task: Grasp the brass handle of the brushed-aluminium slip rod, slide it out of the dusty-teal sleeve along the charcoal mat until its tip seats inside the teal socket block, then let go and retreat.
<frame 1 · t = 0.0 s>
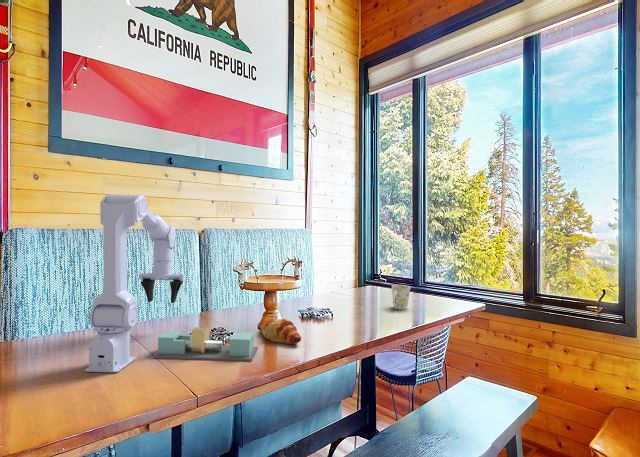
hand: (161, 301, 123), 10 cm above the table, fingers open, 7 cm apart
guide: (175, 352, 105), on the table
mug: (398, 309, 168), on the table
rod: (193, 339, 105), point 4 cm above the table, slide at 0.0 cm
croissant: (280, 339, 121), on the table
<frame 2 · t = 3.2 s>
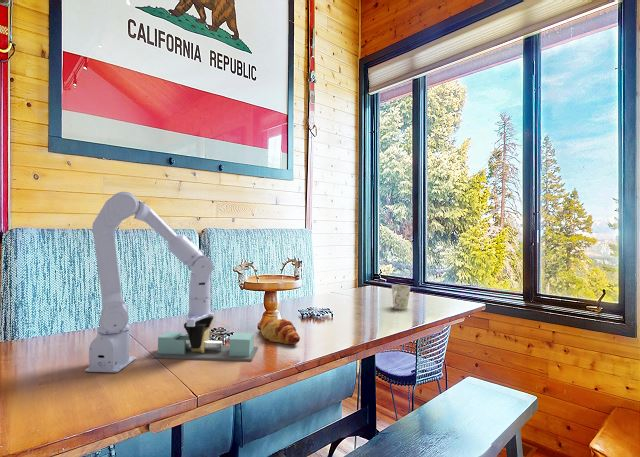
hand: (198, 345, 105), 2 cm above the table, fingers closed on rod, 4 cm apart
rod: (193, 339, 105), point 4 cm above the table, slide at 0.0 cm, touching gripper
everything else where it was.
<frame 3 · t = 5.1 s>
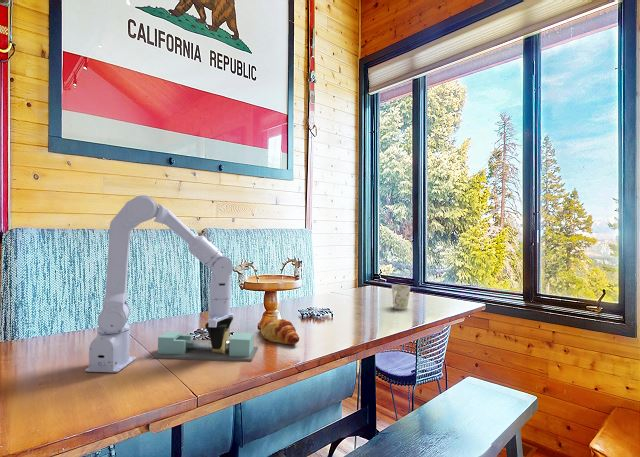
hand: (219, 345, 105), 2 cm above the table, fingers closed on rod, 4 cm apart
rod: (214, 340, 105), point 4 cm above the table, slide at 5.8 cm, touching gripper
everything else where it was.
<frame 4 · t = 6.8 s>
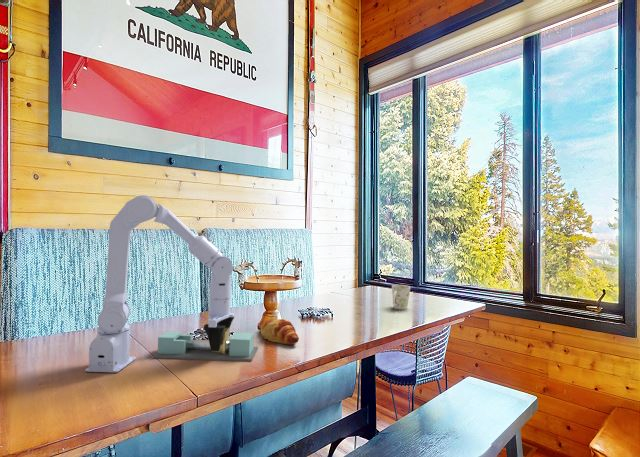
hand: (219, 345, 105), 2 cm above the table, fingers open, 7 cm apart
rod: (214, 340, 105), point 4 cm above the table, slide at 5.8 cm
everything else where it was.
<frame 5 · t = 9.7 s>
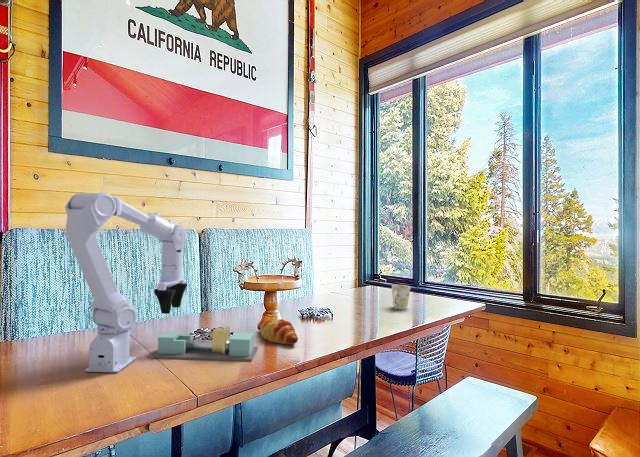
hand: (171, 310, 111), 10 cm above the table, fingers open, 7 cm apart
nothing on the table moved.
at the end: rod slide at 5.8 cm; the gripper is holding nothing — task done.
